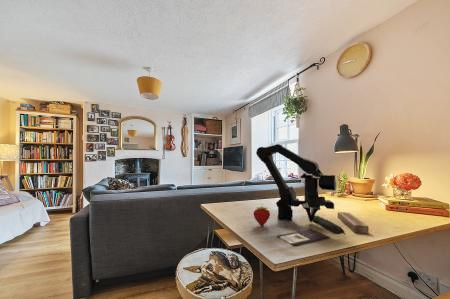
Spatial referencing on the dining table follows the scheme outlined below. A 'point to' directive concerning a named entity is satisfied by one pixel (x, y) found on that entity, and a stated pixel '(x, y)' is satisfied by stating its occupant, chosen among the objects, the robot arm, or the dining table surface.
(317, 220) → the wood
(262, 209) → the strawberry
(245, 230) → the dining table surface
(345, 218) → the laid board
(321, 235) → the chocolate bar
